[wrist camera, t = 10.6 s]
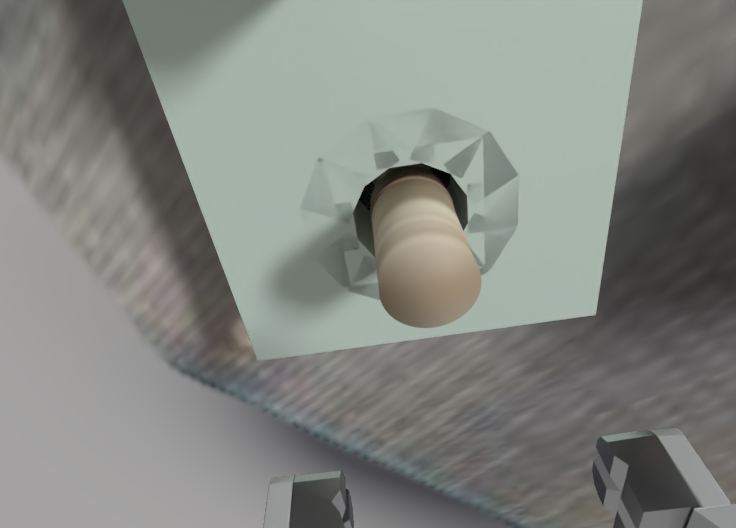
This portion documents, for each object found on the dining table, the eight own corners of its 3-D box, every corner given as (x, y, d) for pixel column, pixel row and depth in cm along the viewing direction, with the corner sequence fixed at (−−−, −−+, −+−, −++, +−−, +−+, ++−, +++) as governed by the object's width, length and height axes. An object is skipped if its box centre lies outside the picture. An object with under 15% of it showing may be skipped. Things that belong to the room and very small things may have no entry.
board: (79, -261, 15) (-190, -457, 7) (624, -367, 14) (945, -707, 7) (268, 308, 27) (239, 452, 20) (563, 266, 26) (651, 399, 19)
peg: (360, 145, 22) (369, 252, 15) (434, 133, 22) (481, 235, 14) (371, 211, 24) (384, 336, 16) (440, 199, 24) (484, 321, 16)
